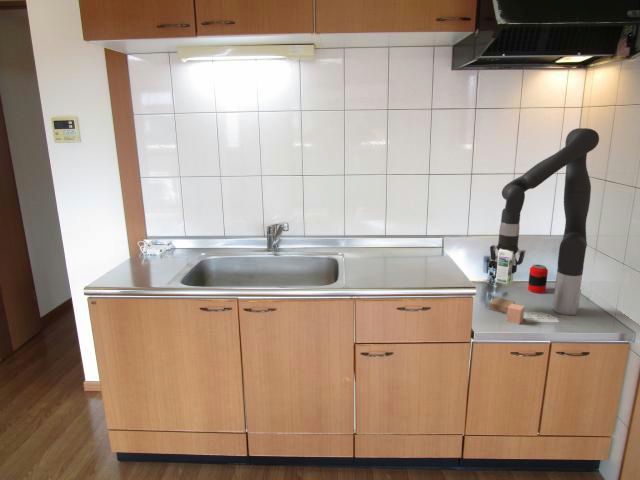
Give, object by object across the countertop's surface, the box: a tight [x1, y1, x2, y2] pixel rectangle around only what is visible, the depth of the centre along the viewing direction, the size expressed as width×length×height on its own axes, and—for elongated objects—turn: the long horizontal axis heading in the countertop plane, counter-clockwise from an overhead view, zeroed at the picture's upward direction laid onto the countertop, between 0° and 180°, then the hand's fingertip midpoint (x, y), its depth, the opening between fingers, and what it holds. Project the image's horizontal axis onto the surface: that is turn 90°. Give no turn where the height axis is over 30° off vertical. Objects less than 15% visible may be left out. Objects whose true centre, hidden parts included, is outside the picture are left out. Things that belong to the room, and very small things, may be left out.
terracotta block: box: [506, 303, 525, 325], centre depth 181 cm, size 5×5×6 cm
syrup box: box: [495, 249, 517, 286], centre depth 188 cm, size 6×6×14 cm
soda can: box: [527, 264, 549, 294], centre depth 210 cm, size 8×8×12 cm
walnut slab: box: [488, 297, 516, 315], centre depth 193 cm, size 8×8×3 cm
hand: (505, 271), depth 189 cm, fingers closed on syrup box, 6 cm apart
